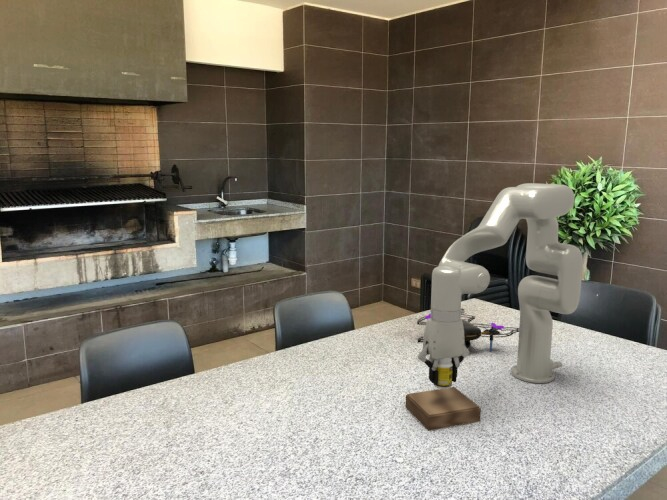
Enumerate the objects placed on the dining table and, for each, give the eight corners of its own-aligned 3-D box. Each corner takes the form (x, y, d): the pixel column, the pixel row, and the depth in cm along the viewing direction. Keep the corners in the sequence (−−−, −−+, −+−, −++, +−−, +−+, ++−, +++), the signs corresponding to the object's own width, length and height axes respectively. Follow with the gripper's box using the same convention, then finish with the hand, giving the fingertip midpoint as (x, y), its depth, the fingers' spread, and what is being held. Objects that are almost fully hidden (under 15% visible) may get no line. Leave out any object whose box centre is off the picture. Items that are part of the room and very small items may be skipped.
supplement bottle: (452, 390, 134) (453, 359, 133) (433, 388, 135) (434, 358, 134) (451, 382, 139) (452, 352, 138) (433, 381, 140) (434, 351, 139)
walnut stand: (453, 399, 147) (454, 386, 146) (480, 421, 135) (481, 406, 134) (405, 407, 143) (405, 393, 142) (428, 430, 130) (428, 415, 130)
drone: (422, 337, 169) (389, 313, 196) (421, 366, 171) (389, 338, 197) (528, 326, 180) (483, 305, 207) (526, 353, 182) (482, 328, 208)
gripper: (466, 307, 140) (463, 372, 143) (408, 313, 135) (407, 379, 138) (482, 315, 133) (479, 383, 136) (422, 321, 128) (420, 391, 131)
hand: (442, 380), depth 137 cm, fingers closed on supplement bottle, 4 cm apart
